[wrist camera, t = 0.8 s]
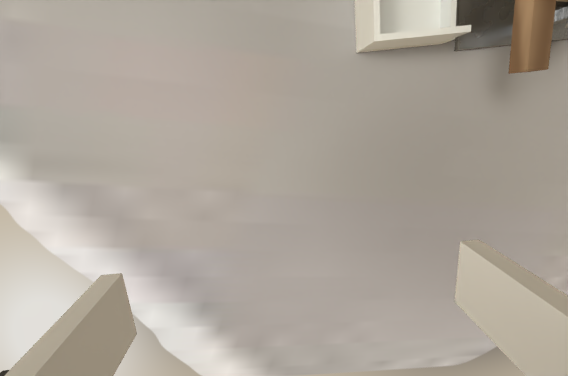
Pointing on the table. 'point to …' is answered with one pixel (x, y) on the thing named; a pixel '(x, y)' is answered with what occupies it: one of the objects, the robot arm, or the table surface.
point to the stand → (498, 23)
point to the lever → (532, 35)
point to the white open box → (405, 23)
